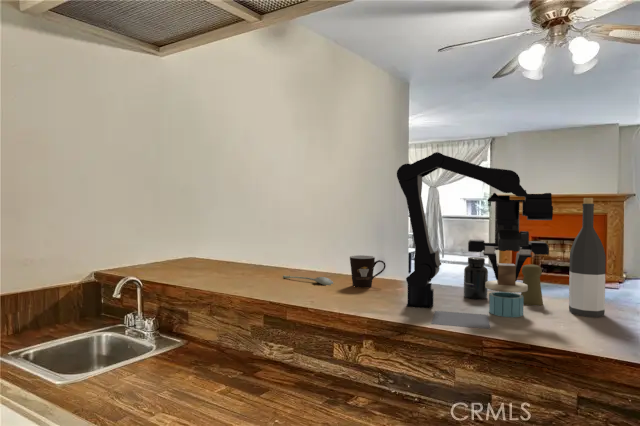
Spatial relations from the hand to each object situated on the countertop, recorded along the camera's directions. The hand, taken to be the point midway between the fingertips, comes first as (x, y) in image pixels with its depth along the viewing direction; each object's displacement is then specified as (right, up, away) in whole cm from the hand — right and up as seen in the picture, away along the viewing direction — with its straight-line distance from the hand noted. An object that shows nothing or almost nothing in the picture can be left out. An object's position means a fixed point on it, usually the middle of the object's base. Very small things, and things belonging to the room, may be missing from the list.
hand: (506, 280), depth 113 cm
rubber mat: (-14, -9, -6) cm, 17 cm away
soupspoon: (-52, -8, +46) cm, 70 cm away
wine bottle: (+22, -9, +2) cm, 23 cm away
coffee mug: (-32, -8, +37) cm, 50 cm away
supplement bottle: (-1, -9, +20) cm, 22 cm away
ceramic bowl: (0, -9, 0) cm, 9 cm away
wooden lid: (0, -2, 0) cm, 2 cm away
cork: (+13, -9, +13) cm, 20 cm away
